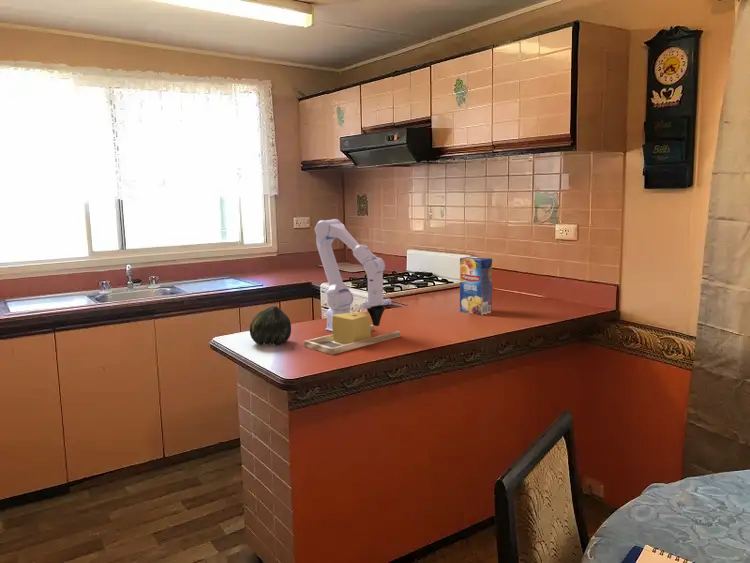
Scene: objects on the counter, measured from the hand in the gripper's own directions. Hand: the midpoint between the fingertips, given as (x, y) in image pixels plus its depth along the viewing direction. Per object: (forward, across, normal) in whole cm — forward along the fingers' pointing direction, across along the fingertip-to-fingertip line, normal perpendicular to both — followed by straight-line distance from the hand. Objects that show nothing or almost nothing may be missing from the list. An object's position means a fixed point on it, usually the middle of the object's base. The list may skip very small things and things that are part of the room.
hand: (376, 325), depth 231 cm
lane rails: (+4, -11, 0) cm, 12 cm away
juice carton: (+4, +58, -2) cm, 58 cm away
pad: (+4, -12, 0) cm, 13 cm away
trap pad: (+4, -23, 0) cm, 23 cm away
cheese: (+4, -12, 0) cm, 13 cm away
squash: (+4, -34, +20) cm, 40 cm away
